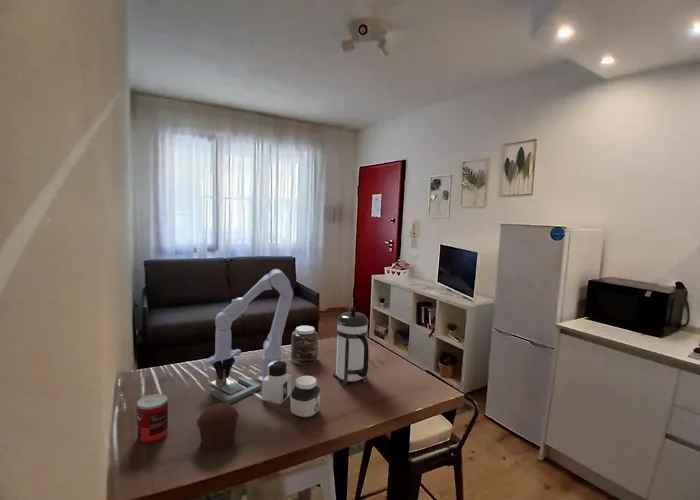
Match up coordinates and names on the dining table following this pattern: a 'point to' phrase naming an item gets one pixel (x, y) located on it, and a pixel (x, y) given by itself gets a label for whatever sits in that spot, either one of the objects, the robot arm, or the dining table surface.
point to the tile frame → (229, 399)
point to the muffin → (217, 425)
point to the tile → (231, 388)
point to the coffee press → (352, 347)
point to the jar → (304, 345)
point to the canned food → (152, 418)
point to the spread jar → (305, 398)
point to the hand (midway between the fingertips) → (223, 377)
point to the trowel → (221, 383)
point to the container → (276, 383)
